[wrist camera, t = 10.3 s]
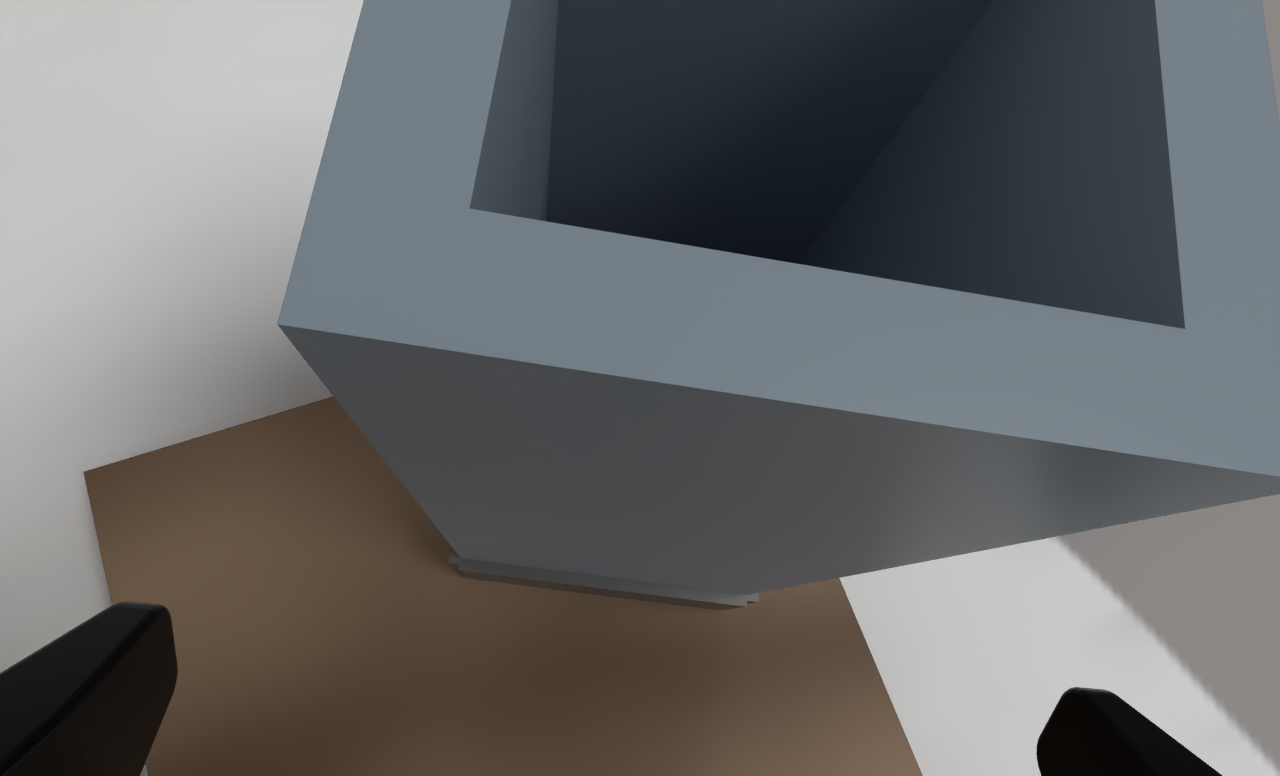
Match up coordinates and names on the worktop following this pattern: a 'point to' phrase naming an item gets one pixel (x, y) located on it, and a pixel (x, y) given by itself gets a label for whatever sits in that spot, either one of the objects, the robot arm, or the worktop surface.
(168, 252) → the worktop surface
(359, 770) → the pin board
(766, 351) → the sleeve
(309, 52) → the worktop surface
